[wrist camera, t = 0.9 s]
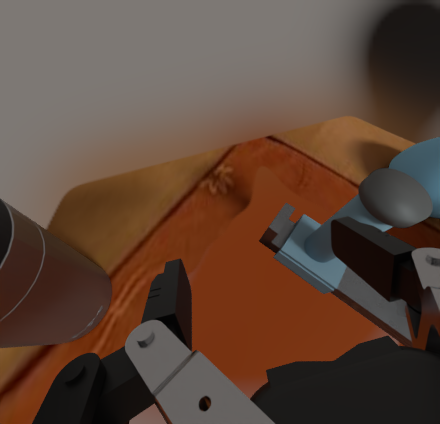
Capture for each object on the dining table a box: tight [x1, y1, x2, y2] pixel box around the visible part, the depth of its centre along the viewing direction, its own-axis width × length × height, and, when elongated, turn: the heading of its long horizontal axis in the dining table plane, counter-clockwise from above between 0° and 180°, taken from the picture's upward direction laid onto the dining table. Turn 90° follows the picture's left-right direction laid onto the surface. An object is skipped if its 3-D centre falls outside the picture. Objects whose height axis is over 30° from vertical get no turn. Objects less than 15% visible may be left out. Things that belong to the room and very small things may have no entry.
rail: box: [259, 203, 413, 347], centre depth 29 cm, size 28×5×5 cm, turn 53°
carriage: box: [274, 168, 433, 294], centre depth 25 cm, size 8×7×16 cm
